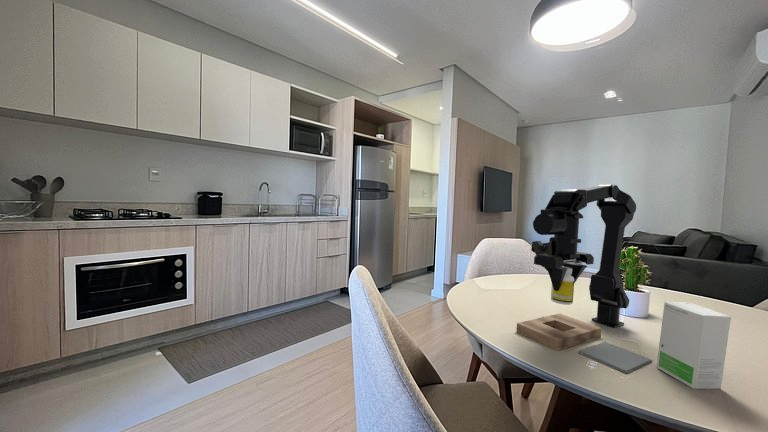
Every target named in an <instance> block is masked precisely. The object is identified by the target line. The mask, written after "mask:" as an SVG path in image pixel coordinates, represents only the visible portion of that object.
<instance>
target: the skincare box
mask: <svg viewBox="0 0 768 432" xmlns="http://www.w3.org/2000/svg"><path fill="white" fill-rule="evenodd" d="M662 312H663V313H662V320H661V327H660V328H661V329H660V336H659V337H660V338H659V345H658V351H657V352H658V353H657V360H656V361H657V362H656V368H657V369H659V370H660V371H663V372H664V373H666V374H667V375H669V376H671V377H673V378H674V379H676V380H678V381H680V382H681V383H683V384H685V385H686V386H688V387H689V388H691V389H694V390H719V389H720V390H721V388H722V384H723V383H722V381H723V378H724V377H723V376H724V369H725V367H724V366H725V361H726V355H727V347H728V341H729V340H728V339H729V332H730V327H731V326H730V325H731V320H732V316H729V315H728V314H724V313H721V312H718V311H715V310H713V309H711V308H708V307H705V306H700V305H698V304H694V303H692V302H688V301H686V302H685V301H679V302H678V301H664V303H663V311H662Z"/></svg>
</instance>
